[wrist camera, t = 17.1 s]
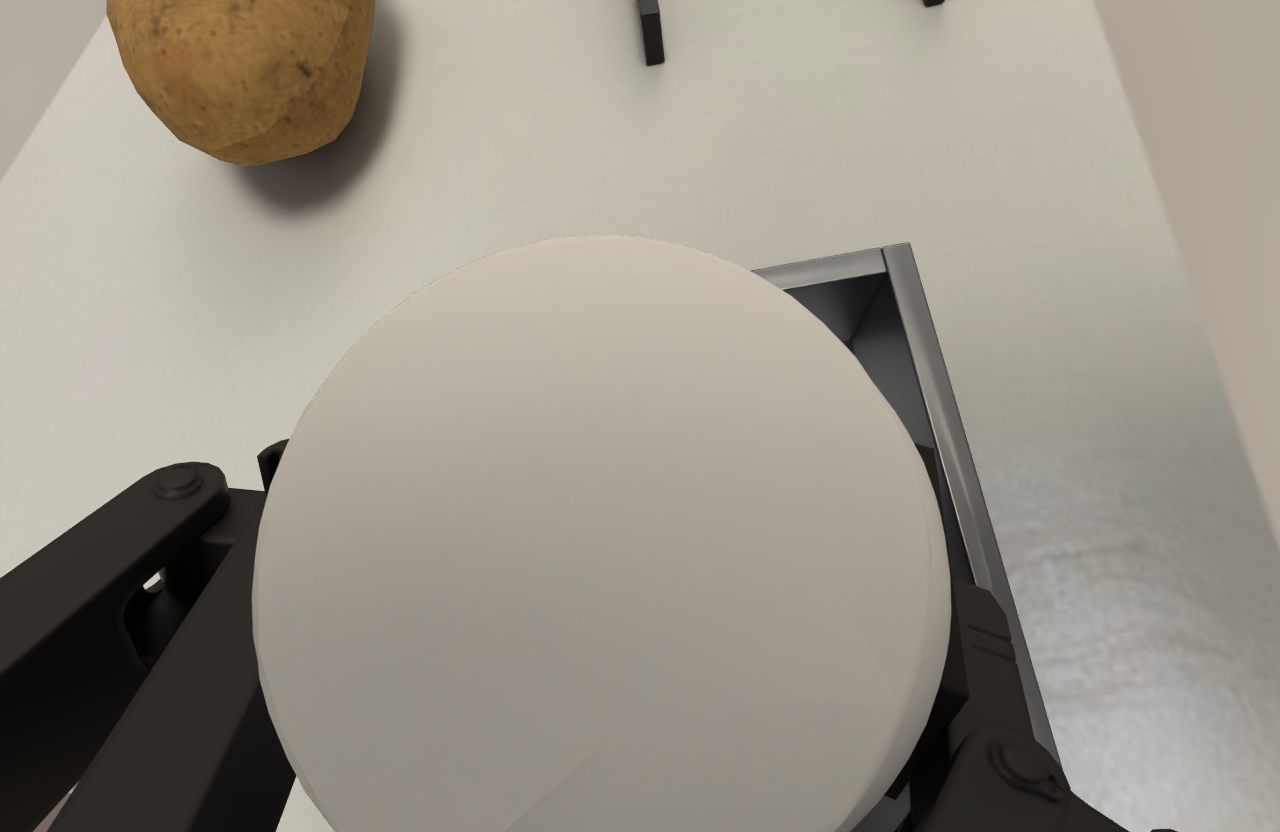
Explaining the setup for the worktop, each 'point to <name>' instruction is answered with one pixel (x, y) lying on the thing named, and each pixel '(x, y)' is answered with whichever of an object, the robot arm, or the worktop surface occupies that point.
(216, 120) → the potato
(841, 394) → the pill bottle
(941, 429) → the grey open square box
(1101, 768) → the worktop surface
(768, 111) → the worktop surface
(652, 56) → the u-shaped frame
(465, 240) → the worktop surface
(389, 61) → the worktop surface
